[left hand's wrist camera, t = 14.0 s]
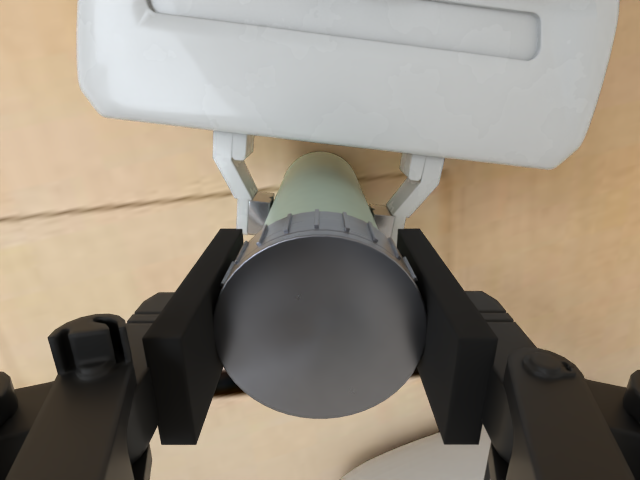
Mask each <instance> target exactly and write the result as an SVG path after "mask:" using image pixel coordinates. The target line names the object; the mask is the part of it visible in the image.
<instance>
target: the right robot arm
mask: <svg viewBox="0 0 640 480" xmlns="http://www.w3.org/2000/svg"><path fill="white" fill-rule="evenodd" d="M619 4H620V0H78V1H77V74H78V82H79V87H80V89H81V91H82V92H83V94H84V95H85V97H86V98H87V99H88V101H89V102H90V103H91V105H92V106H93V107H94V108H95V110H96V111H97V112H98V113H99V114H100V115H101V116H103V117H105V118H111V119H119V120H128V121H136V122H145V123H153V124H162V125H170V126H179V127H187V128H196V129H204V130H213V159H214V161H215V163H216V165H217V166H218V168H219V170H220V172H221V174H222V176H223V177H224V179H225V181H226V183H227V185H228V187H229V188H230V190H231V192H232V194H233V196H234V198H237V199H238V202H237V226H236V229H242V231H243V235H256V234H257V233H258V232H260V231H261V230H262V228H263V226H264V224H265V221H266V219H267V217H268V214H269V212H270V209H271V207H272V205H273V202H274V193H268V192H261V191H258V189H257V187H256V185H255V183H254V181H253V179H252V177H251V174H250V172H249V170H248V168H247V166H246V164H245V162H244V159H246V158H247V157H248V156H249V155H250V154H251V153H252V152H253V147H254V135H255V136H264V137H272V138H281V139H289V140H298V141H306V142H315V143H323V144H332V145H340V146H348V147H357V148H365V149H374V150H382V151H391V152H399V153H402V156H401V162H400V168H399V169H400V170H401V171H402V172H403V173H404V174H405V175H406V176H407V179H406V180H405V181H404V182H403V184H402V185H401V186H400V187H399V189H398V190H397V191H396V192H395V194H394V195H393V196H392V198H391V199H390V200H389V201H388V203H387V204H386V205H374V204H370V205H369V209H370V211H371V213H372V216H373V218H374V221H375V223H376V225H377V228H378V230H379V231H380V232H382V233H383V234H384V235H385V236H386V237H387V238H389V237H391V238H392V239H393V241H394V243H395V245H396V247H397V234H398V229H404V225H405V220H406V217H407V218H409V217H410V216H411V215H412V213H413V212H414V211H415V210H416V209H417V208H418V207H419V206H420V205H421V203H422V202H423V201H424V200H425V199H426V198H427V197H428V196H429V195H430V193H431V192H432V191H433V190H434V189H435V188H436V187H437V186H438V185H439V181H440V177H441V172H442V168H443V164H444V159H445V158H450V159H459V160H467V161H476V162H484V163H493V164H501V165H510V166H518V167H527V168H536V169H544V170H551V169H554V168H556V167H557V166H559V165H560V164H561V163H562V162H564V161H565V160H566V159H567V158H568V157H570V156H571V155H572V154H573V153H574V152H575V151H576V150H577V149H578V148H579V147H580V146H581V144H582V142H583V140H584V138H585V136H586V134H587V131H588V128H589V126H590V123H591V120H592V117H593V114H594V111H595V108H596V105H597V102H598V98H599V95H600V91H601V88H602V85H603V81H604V77H605V74H606V70H607V66H608V63H609V59H610V55H611V50H612V46H613V42H614V37H615V32H616V28H617V22H618V16H619Z"/></svg>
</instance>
